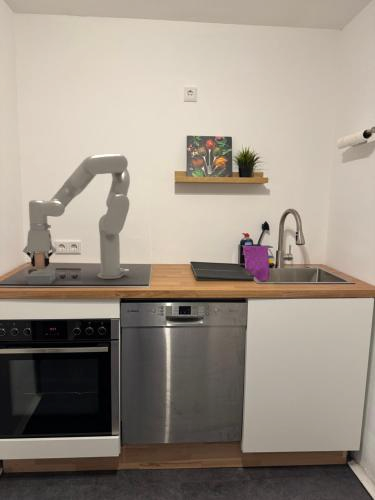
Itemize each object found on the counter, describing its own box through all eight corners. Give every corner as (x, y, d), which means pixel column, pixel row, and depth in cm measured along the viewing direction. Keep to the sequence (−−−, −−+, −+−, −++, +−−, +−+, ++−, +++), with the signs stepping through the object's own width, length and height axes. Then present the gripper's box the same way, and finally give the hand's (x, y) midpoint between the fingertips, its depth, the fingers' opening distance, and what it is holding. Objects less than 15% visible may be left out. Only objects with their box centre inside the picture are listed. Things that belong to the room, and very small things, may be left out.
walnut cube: (37, 275, 177) (37, 267, 177) (37, 277, 174) (37, 269, 173) (28, 275, 176) (28, 268, 175) (28, 277, 172) (28, 269, 171)
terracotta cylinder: (47, 266, 167) (46, 252, 165) (44, 268, 162) (44, 254, 160) (36, 266, 166) (35, 252, 165) (33, 268, 161) (32, 254, 160)
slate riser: (55, 278, 170) (54, 270, 170) (50, 284, 161) (49, 275, 160) (33, 279, 169) (33, 271, 168) (27, 284, 159) (26, 275, 159)
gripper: (59, 226, 166) (61, 264, 168) (21, 226, 163) (23, 264, 166) (56, 228, 158) (57, 267, 161) (16, 228, 156) (18, 268, 159)
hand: (40, 265), depth 164 cm, fingers closed on terracotta cylinder, 5 cm apart
